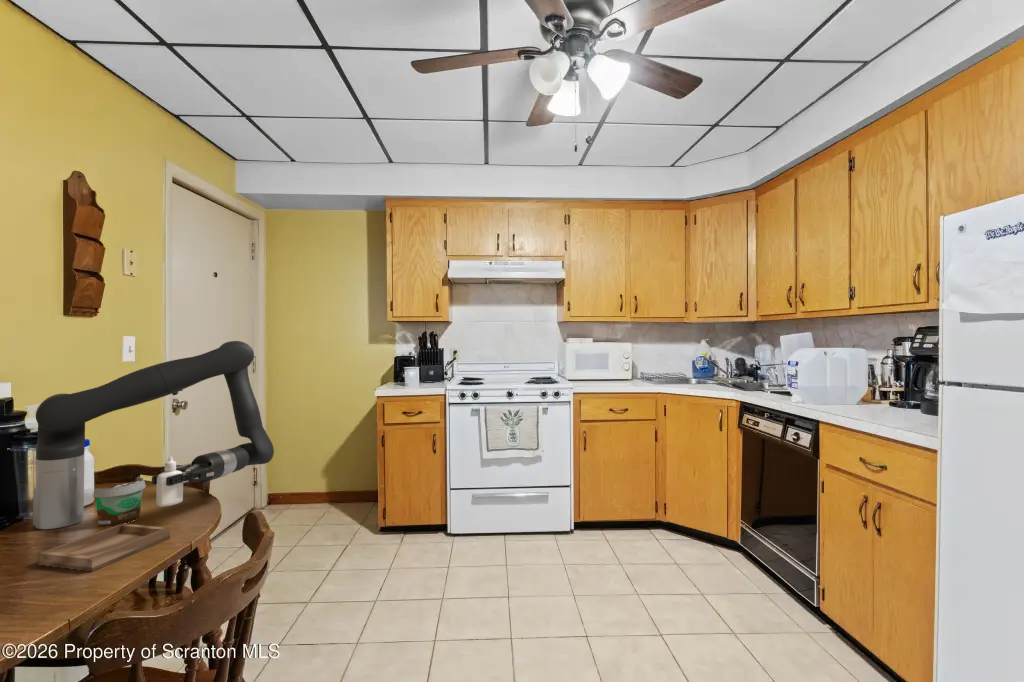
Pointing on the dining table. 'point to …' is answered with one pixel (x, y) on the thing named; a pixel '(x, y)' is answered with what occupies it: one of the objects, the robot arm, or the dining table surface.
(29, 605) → the dining table surface
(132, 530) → the walnut tray
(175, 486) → the eye dropper bottle
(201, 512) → the dining table surface
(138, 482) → the food container
